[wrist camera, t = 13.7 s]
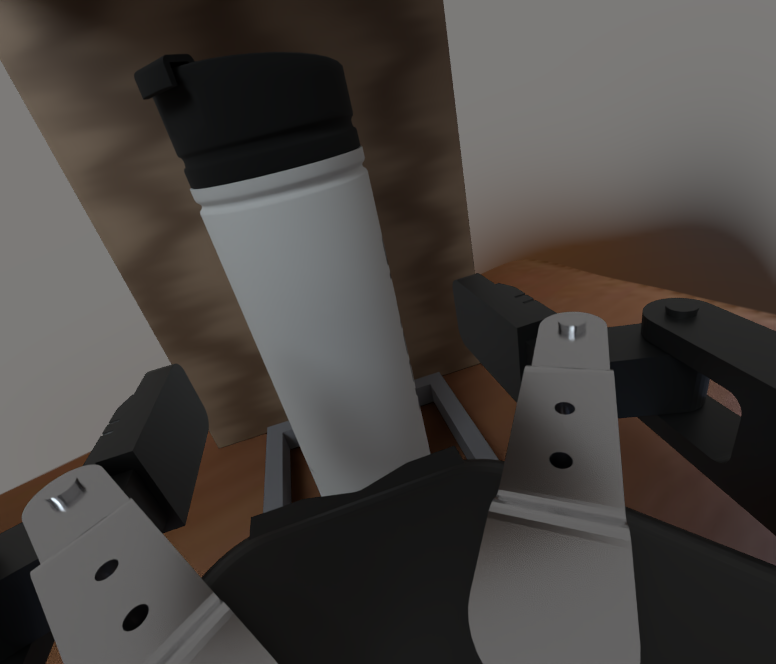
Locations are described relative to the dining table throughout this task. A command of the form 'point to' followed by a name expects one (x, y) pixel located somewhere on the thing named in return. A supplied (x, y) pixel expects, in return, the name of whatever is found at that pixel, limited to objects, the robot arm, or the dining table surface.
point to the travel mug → (299, 249)
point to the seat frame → (427, 391)
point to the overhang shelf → (172, 190)
